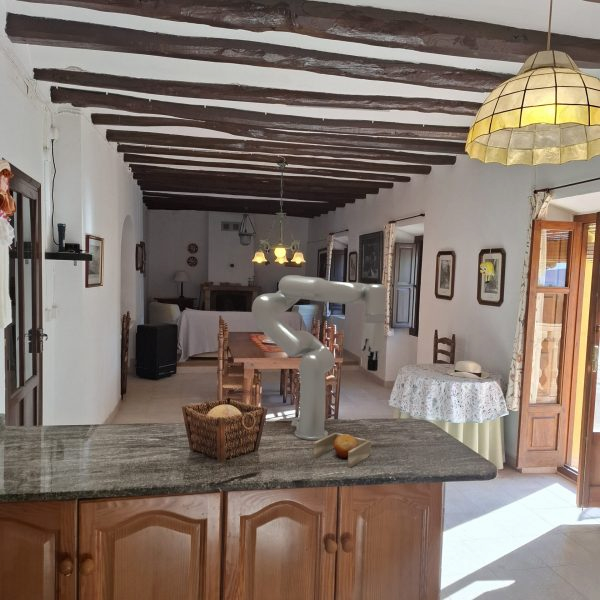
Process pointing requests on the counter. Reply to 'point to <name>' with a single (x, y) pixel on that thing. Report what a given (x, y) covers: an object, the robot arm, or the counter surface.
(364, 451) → the box
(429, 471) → the counter surface
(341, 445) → the fruit
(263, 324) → the robot arm
